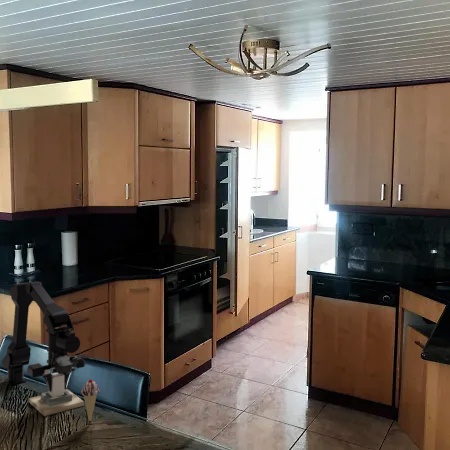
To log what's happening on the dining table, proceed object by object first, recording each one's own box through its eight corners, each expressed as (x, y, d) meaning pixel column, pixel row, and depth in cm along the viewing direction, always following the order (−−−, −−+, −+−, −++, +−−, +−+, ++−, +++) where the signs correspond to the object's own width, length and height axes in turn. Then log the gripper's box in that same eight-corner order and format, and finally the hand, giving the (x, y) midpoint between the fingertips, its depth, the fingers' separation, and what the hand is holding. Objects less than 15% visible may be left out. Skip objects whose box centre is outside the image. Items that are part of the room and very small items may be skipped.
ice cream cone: (79, 422, 163) (79, 377, 162) (97, 419, 166) (97, 375, 165) (82, 430, 158) (82, 383, 157) (100, 427, 161) (101, 381, 160)
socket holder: (29, 402, 178) (29, 392, 178) (67, 392, 187) (67, 383, 187) (44, 416, 167) (44, 405, 167) (83, 405, 177) (83, 395, 176)
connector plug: (48, 393, 177) (48, 374, 177) (59, 391, 180) (59, 371, 179) (53, 397, 174) (53, 377, 174) (64, 394, 177) (64, 375, 176)
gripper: (38, 357, 164) (38, 404, 165) (92, 347, 176) (91, 391, 177) (26, 348, 172) (26, 393, 173) (78, 339, 184) (77, 381, 185)
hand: (56, 390), depth 177 cm, fingers closed on connector plug, 4 cm apart
